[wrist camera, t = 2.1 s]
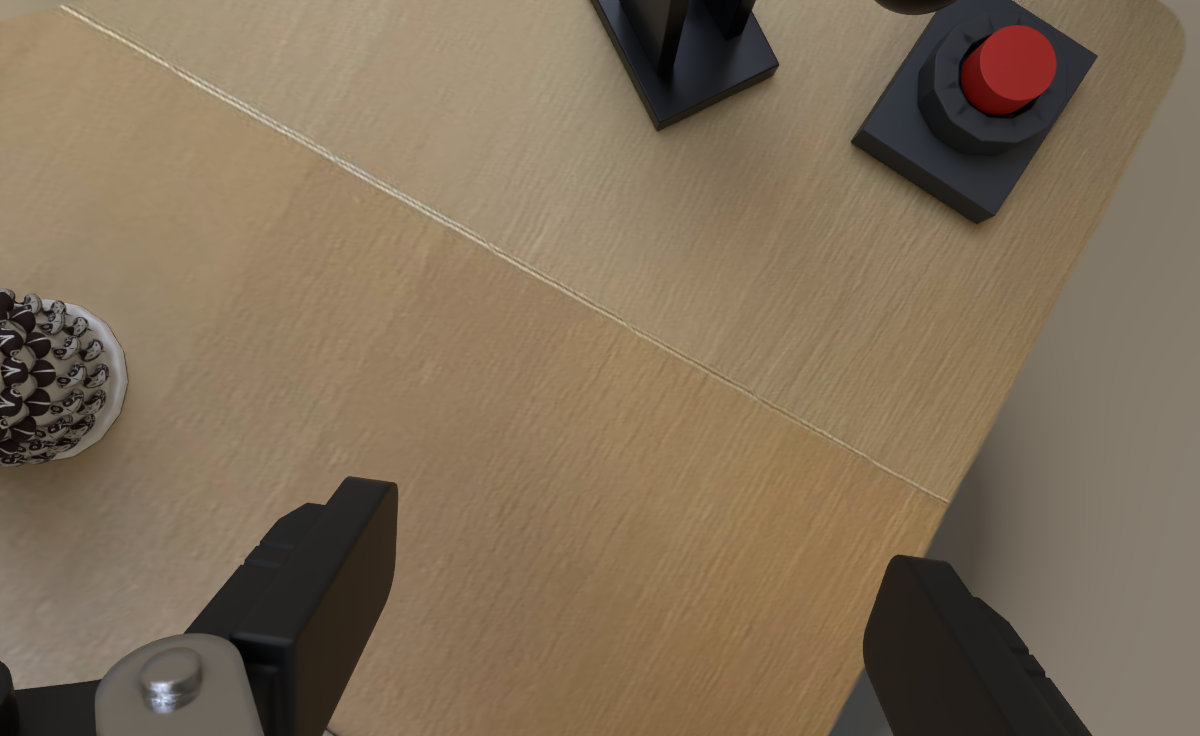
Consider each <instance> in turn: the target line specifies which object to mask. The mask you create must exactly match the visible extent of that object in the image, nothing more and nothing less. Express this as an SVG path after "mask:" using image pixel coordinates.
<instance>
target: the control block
mask: <svg viewBox="0 0 1200 736" xmlns="http://www.w3.org/2000/svg"><path fill="white" fill-rule="evenodd" d="M1013 25H1021V26H1027V27H1030V28H1033V29H1035V30H1037V31H1038V32H1040V33H1041V34H1043V35H1044V36H1045V37H1046V38H1047V40H1048V41H1049V42H1050V44H1051V45H1052V47H1053V49H1054V52H1055V55H1056V64H1057V66H1056V72H1055V76H1054V78H1053V81H1052V82H1051V84H1050V86H1049V87H1048V88H1047V89H1046V90H1045V91H1044V92H1043V93H1042V94H1040V95H1039V96H1037V97H1036V98H1035V99H1033V100H1032V101H1030V102H1029V103H1027V104H1026V105H1024V106H1023V107H1021V108H1020V109H1019V110H1017V111H1015V112H1013V113H1010V114H1007V115H990V114H986V113H984V112H982V111H980V110H978V109H977V108H975V107H974V106H973V105H972V104H971V103H970V102H969V101H968V99H967V98H966V96H965V94H964V92H963V89H962V85H961V72H962V68H963V65H964V63H965V61H966V59H967V58H968V57H969V55H970V54H971V53H972V52H973V51H975V50H976V49H977V48H978V47H979V46H980V45H981V44H982V43H983V42H984V41H985V40H986V39H988V38H989V37H990V36H991V35H992V34H993V33H995V32H996V31H998V30H999V29H1002V28H1004V27H1008V26H1013ZM1097 57H1098V56H1097V55H1096V54H1094V53H1093V52H1091V51H1089V50H1088V49H1086V48H1085V47H1083V46H1082V45H1080V44H1079V43H1077V42H1075V41H1074V40H1072V39H1071V38H1069V37H1068V36H1066V35H1065V34H1063V33H1062V32H1060V31H1058V30H1057V29H1055V28H1054V27H1052V26H1051V25H1049V24H1048V23H1046V22H1044V21H1043V20H1041V19H1040V18H1038V17H1037V16H1035V15H1034V14H1032V13H1031V12H1029V11H1027V10H1026V9H1024V8H1023V7H1021V6H1020V5H1018V4H1017V3H1015V2H1013V1H1012V0H958V1H956V2H955V3H953V4H951V5H949V6H947V7H945V8H943V9H941V10H938V11H937V12H936V13H935V15H934V16H933V18H932V19H931V21H930V22H929V24H928V25H927V27H926V28H925V30H924V31H923V33H922V34H921V36H920V37H919V39H918V40H917V42H916V43H915V45H914V46H913V48H912V49H911V51H910V52H909V54H908V55H907V57H906V58H905V60H904V62H903V63H902V65H901V66H900V68H899V69H898V71H897V72H896V74H895V75H894V77H893V78H892V80H891V81H890V83H889V84H888V86H887V87H886V89H885V90H884V92H883V93H882V95H881V96H880V98H879V99H878V101H877V102H876V104H875V105H874V107H873V109H872V110H871V112H870V113H869V115H868V116H867V118H866V119H865V121H864V122H863V124H862V125H861V127H860V128H859V130H858V131H857V133H856V134H855V136H854V137H853V139H852V140H851V142H852V143H854V144H855V145H857V146H858V147H860V148H861V149H863V150H864V151H866V152H867V153H869V154H871V155H872V156H874V157H875V158H877V159H878V160H880V161H881V162H883V163H884V164H886V165H887V166H889V167H890V168H892V169H893V170H895V171H897V172H898V173H900V174H901V175H903V176H904V177H906V178H907V179H909V180H910V181H912V182H913V183H915V184H916V185H918V186H920V187H921V188H923V189H924V190H926V191H927V192H929V193H930V194H932V195H933V196H935V197H936V198H938V199H939V200H941V201H943V202H944V203H946V204H947V205H949V206H950V207H952V208H953V209H955V210H956V211H958V212H959V213H961V214H962V215H964V216H965V217H967V218H969V219H970V220H972V221H973V222H975V223H976V224H978V223H980V222H982V221H984V220H987V219H989V218H991V217H993V216H995V215H996V213H997V212H998V210H999V209H1000V207H1001V206H1002V204H1003V202H1004V201H1005V199H1006V198H1007V196H1008V195H1009V193H1010V192H1011V190H1012V188H1013V187H1014V185H1015V184H1016V182H1017V181H1018V179H1019V178H1020V176H1021V175H1022V173H1023V171H1024V170H1025V168H1026V167H1027V165H1028V164H1029V162H1030V161H1031V159H1032V157H1033V156H1034V154H1035V153H1036V151H1037V150H1038V148H1039V147H1040V145H1041V144H1042V142H1043V140H1044V139H1045V137H1046V136H1047V134H1048V133H1049V131H1050V130H1051V128H1052V126H1053V125H1054V123H1055V122H1056V120H1057V119H1058V117H1059V116H1060V114H1061V113H1062V111H1063V109H1064V108H1065V106H1066V105H1067V103H1068V102H1069V100H1070V99H1071V97H1072V95H1073V94H1074V92H1075V91H1076V89H1077V88H1078V86H1079V85H1080V83H1081V82H1082V80H1083V78H1084V77H1085V75H1086V74H1087V72H1088V71H1089V69H1090V68H1091V66H1092V64H1093V63H1094V61H1095V60H1096V58H1097Z"/></svg>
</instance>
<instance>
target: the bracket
mask: <svg viewBox="0 0 1200 736" xmlns="http://www.w3.org/2000/svg"><path fill="white" fill-rule="evenodd" d="M591 1H592V3H593V5H594V7H595V9H596V11H597V13H598V15H599V17H600V19H601V21H602V23H603V25H604V27H605V29H606V31H607V33H608V35H609V37H610V39H611V41H612V43H613V45H614V47H615V48H616V50H617V52H618V54H619V56H620V58H621V60H622V62H623V64H624V66H625V68H626V70H627V72H628V74H629V76H630V78H631V80H632V82H633V84H634V86H635V88H636V90H637V92H638V94H639V96H640V98H641V100H642V102H643V104H644V106H645V108H646V110H647V112H648V114H649V116H650V118H651V120H652V122H653V124H654V126H655V128H656V129H657V131H659V130H661V129H663V128H665V127H667V126H669V125H671V124H673V123H675V122H678V121H680V120H682V119H684V118H686V117H688V116H690V115H692V114H694V113H696V112H698V111H700V110H702V109H704V108H706V107H708V106H711V105H713V104H715V103H717V102H719V101H721V100H723V99H725V98H727V97H729V96H731V95H733V94H735V93H737V92H739V91H741V90H744V89H746V88H748V87H750V86H752V85H754V84H756V83H758V82H760V81H762V80H764V79H766V78H768V77H770V76H772V75H774V73H775V72H776V70H777V68H778V66H779V63H778V61H777V59H776V57H775V55H774V53H773V51H772V49H771V47H770V45H769V43H768V41H767V39H766V37H765V35H764V33H763V32H762V30H761V28H760V26H759V24H758V22H757V20H756V18H755V16H754V14H753V12H752V8H753V6H754V3H755V1H756V0H591Z"/></svg>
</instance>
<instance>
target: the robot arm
mask: <svg viewBox="0 0 1200 736" xmlns="http://www.w3.org/2000/svg"><path fill="white" fill-rule="evenodd" d="M397 512H398V487H397V484H396V483H394V482H387V481H380V480H373V479H366V478H359V477H352V476H349V477H347V478H345V480H344V481H343V482H342V483H341V485H340V486H339V487H338V489H337V490H336V491H335V493H334V494H333V495H332V497H331V498H330V499H329V501H328V502H327V504H326V505H321V504H314V503H306V504H304V505H302V506H301V507H299V508H297V509H296V510H294V511H292V512H290V513H289V514H287V515H285V516H284V517H282V518H280V519H278V521H277V522H276V523H275V524H274V525H273V527H272V528H271V529H270V530H269V531H268V533H267V534H266V535H265V536H264V537H263V539H262V540H261V541H260V545H259V546H256V547H255V548H254V549H253V551H252V552H251V553H250V554H249V555H248V557H247V558H246V559H245V562H244V565H240V566H239V567H238V569H237V570H236V571H235V572H234V573H233V575H232V576H231V577H230V578H229V579H228V581H227V582H226V583H225V584H224V585H223V587H222V588H221V589H220V590H219V591H218V593H217V594H216V595H215V596H214V597H213V599H212V600H211V601H210V602H209V603H208V605H207V606H206V607H205V608H204V609H203V611H202V612H201V613H200V614H199V616H198V617H197V618H196V619H195V620H194V622H193V623H192V624H191V625H190V626H189V628H188V629H187V630H186V631H185V632H184V634H181V635H174V636H170V637H166V638H162V639H159V640H156V641H153V642H151V643H149V644H146V645H144V646H142V647H140V648H138V649H136V650H134V651H133V652H131V653H129V654H128V655H126V656H125V657H124V658H122V659H121V660H120V661H118V662H117V663H116V664H115V665H114V666H113V667H112V668H111V669H110V670H109V671H108V672H107V673H106V675H105V676H104V677H103V679H100V680H95V681H88V682H81V683H73V684H64V685H55V686H47V687H38V688H30V689H21V690H14V687H13V682H12V677H11V674H10V671H9V669H8V668H7V666H6V665H5V664H4V663H2V662H1V661H0V736H323V734H324V731H325V729H326V727H327V725H328V723H329V721H330V719H331V717H332V715H333V713H334V711H335V708H336V706H337V704H338V702H339V700H340V698H341V696H342V694H343V692H344V690H345V688H346V686H347V683H348V681H349V679H350V677H351V675H352V673H353V671H354V669H355V667H356V665H357V663H358V660H359V658H360V656H361V654H362V652H363V650H364V648H365V646H366V644H367V642H368V640H369V637H370V635H371V633H372V631H373V629H374V627H375V625H376V623H377V621H378V619H379V617H380V615H381V612H382V610H383V608H384V606H385V604H386V602H387V599H388V596H389V593H390V590H391V586H392V582H393V577H394V571H395V560H396V536H397ZM863 657H864V663H865V668H866V671H867V674H868V676H869V678H870V681H871V683H872V685H873V688H874V690H875V692H876V695H877V697H878V700H879V702H880V704H881V706H882V709H883V711H884V714H885V716H886V718H887V721H888V723H889V726H890V728H891V730H892V732H893V735H894V736H1092V735H1091V733H1090V732H1089V730H1088V729H1087V728H1086V727H1085V725H1084V724H1083V722H1082V721H1081V720H1080V718H1079V717H1078V716H1077V715H1076V713H1075V711H1074V710H1073V709H1072V707H1071V706H1070V705H1069V703H1068V702H1067V701H1066V699H1065V698H1064V697H1063V695H1062V694H1061V692H1060V691H1059V690H1058V688H1057V687H1056V686H1055V684H1054V683H1053V682H1052V680H1051V679H1050V678H1046V676H1045V671H1044V669H1043V668H1042V667H1041V666H1040V664H1039V663H1038V661H1037V660H1036V659H1035V657H1034V656H1033V655H1029V649H1028V648H1027V646H1026V645H1025V644H1024V642H1023V641H1022V640H1021V638H1020V637H1019V636H1018V634H1017V633H1016V631H1015V630H1014V629H1013V627H1012V626H1011V625H1010V623H1009V622H1008V621H1006V620H1005V619H1004V618H1003V617H1002V616H1001V615H999V614H998V613H997V612H995V611H994V610H993V609H992V608H991V607H990V606H988V605H987V604H986V603H985V602H984V601H982V600H981V599H980V598H977V597H973V596H972V595H971V593H970V592H969V591H968V589H967V588H966V587H965V585H964V583H963V582H962V581H961V579H960V578H959V576H958V575H957V573H956V572H955V571H954V569H953V568H952V566H951V565H950V564H949V563H947V562H945V561H941V560H933V559H927V558H920V557H913V556H906V555H895V556H894V557H893V558H892V559H891V560H890V562H889V564H888V566H887V569H886V571H885V574H884V577H883V580H882V583H881V586H880V589H879V591H878V594H877V597H876V600H875V603H874V606H873V609H872V612H871V614H870V617H869V620H868V623H867V626H866V629H865V633H864V639H863Z"/></svg>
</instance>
